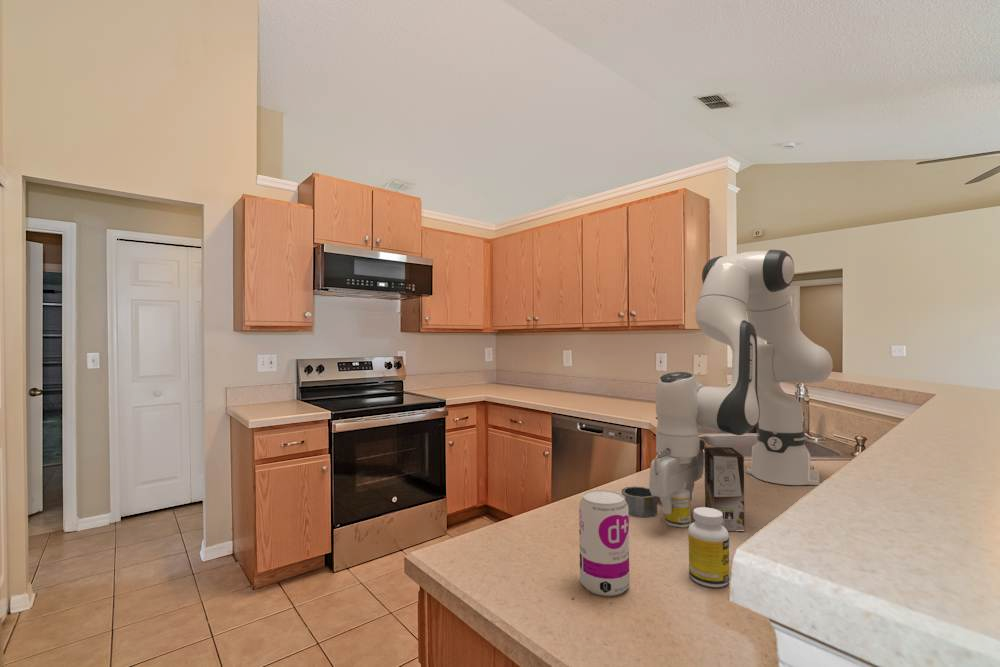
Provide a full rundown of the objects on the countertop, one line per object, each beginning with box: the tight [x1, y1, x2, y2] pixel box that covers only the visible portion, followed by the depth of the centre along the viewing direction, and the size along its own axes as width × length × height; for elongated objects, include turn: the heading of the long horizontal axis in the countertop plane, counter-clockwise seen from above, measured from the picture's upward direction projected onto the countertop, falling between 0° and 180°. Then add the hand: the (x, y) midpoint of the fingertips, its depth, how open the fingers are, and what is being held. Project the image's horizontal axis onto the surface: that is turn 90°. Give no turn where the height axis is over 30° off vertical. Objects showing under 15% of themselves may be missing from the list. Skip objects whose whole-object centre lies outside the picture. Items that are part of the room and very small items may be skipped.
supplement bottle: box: [664, 481, 692, 528], centre depth 107 cm, size 5×5×10 cm
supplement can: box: [578, 489, 630, 597], centre depth 81 cm, size 8×8×15 cm
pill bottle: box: [687, 506, 730, 588], centre depth 82 cm, size 6×6×12 cm
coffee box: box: [703, 446, 745, 532], centre depth 106 cm, size 9×6×16 cm
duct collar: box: [621, 486, 658, 518], centre depth 114 cm, size 8×8×4 cm
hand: (677, 507), depth 107 cm, fingers open, 8 cm apart
